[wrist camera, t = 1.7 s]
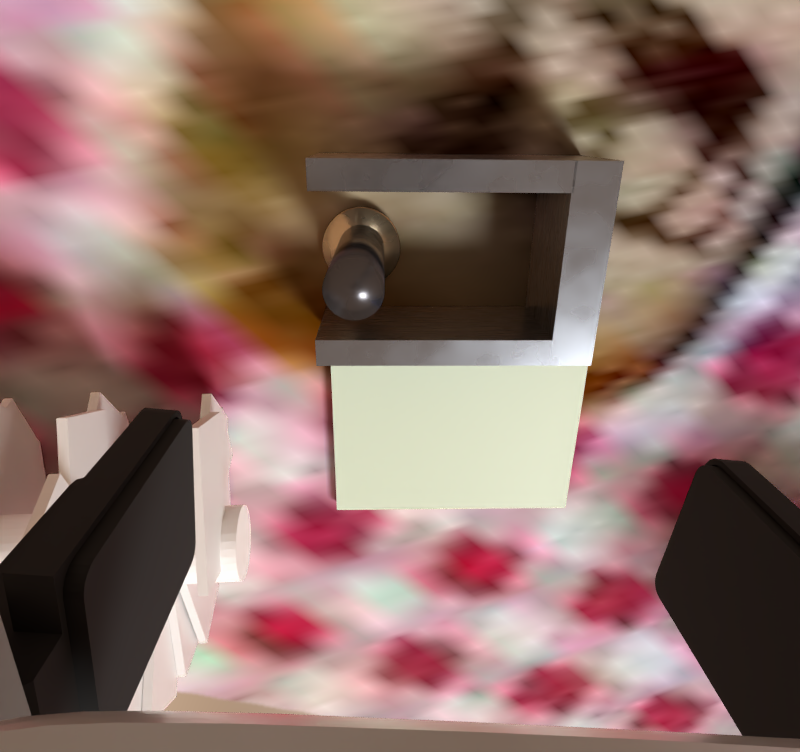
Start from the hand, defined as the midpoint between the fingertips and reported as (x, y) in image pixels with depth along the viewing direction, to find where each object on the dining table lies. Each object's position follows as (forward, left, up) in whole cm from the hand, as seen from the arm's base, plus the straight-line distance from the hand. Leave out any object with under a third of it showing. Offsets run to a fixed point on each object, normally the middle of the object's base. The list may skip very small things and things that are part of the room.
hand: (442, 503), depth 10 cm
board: (-4, +12, -24) cm, 27 cm away
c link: (-3, 0, -24) cm, 24 cm away
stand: (+2, 0, -24) cm, 24 cm away
